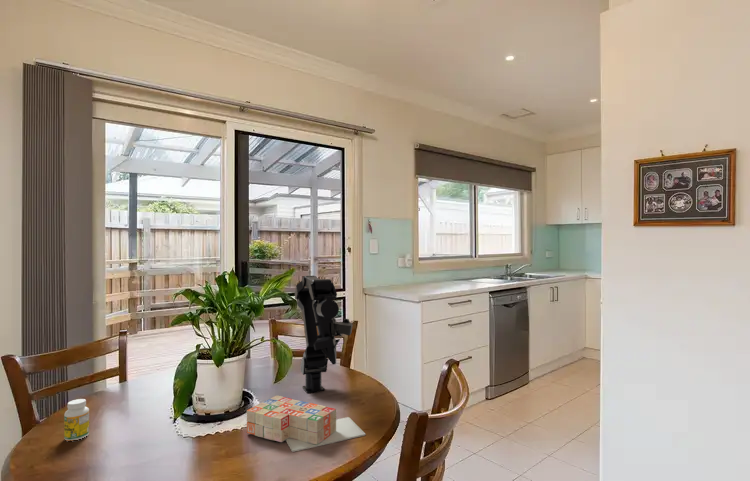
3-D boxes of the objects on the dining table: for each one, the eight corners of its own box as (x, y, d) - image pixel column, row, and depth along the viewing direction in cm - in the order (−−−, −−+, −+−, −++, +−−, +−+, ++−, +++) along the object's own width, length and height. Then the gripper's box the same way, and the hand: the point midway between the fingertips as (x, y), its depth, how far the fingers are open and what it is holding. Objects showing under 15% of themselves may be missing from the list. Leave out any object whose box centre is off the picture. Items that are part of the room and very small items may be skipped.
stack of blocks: (336, 407, 110) (310, 425, 99) (336, 430, 110) (310, 451, 99) (276, 395, 120) (245, 410, 109) (276, 416, 120) (245, 433, 109)
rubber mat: (281, 432, 110) (281, 430, 110) (348, 418, 119) (348, 417, 119) (292, 452, 100) (292, 450, 100) (365, 435, 108) (365, 433, 108)
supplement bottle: (93, 434, 110) (94, 398, 110) (73, 443, 104) (74, 406, 105) (79, 431, 111) (79, 396, 111) (58, 440, 106) (59, 404, 106)
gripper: (343, 315, 122) (355, 366, 122) (351, 308, 141) (361, 352, 140) (308, 323, 123) (319, 374, 122) (320, 315, 142) (330, 358, 141)
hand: (334, 364), depth 131 cm, fingers closed
